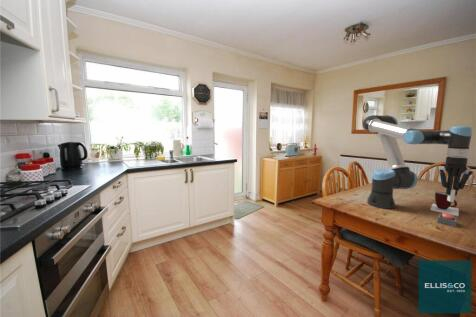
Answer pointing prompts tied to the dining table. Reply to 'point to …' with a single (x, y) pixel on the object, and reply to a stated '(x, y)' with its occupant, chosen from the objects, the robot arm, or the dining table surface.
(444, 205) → the mug
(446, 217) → the button
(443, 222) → the button housing
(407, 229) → the dining table surface
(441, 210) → the paper
